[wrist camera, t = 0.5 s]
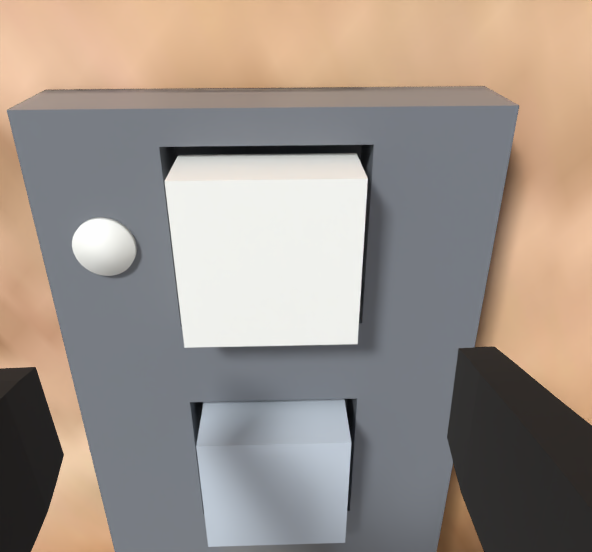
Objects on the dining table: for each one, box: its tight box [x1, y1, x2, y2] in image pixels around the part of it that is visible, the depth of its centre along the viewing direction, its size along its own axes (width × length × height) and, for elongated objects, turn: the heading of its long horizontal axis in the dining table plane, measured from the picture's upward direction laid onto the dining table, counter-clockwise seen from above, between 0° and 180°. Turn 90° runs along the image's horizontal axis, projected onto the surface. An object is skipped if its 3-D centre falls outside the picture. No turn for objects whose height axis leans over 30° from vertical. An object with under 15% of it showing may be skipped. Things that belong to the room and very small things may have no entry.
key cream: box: [165, 153, 368, 348], centre depth 14 cm, size 4×4×2 cm
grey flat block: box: [7, 86, 519, 552], centre depth 20 cm, size 12×23×3 cm, turn 0°
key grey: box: [196, 399, 351, 547], centre depth 18 cm, size 4×4×2 cm
